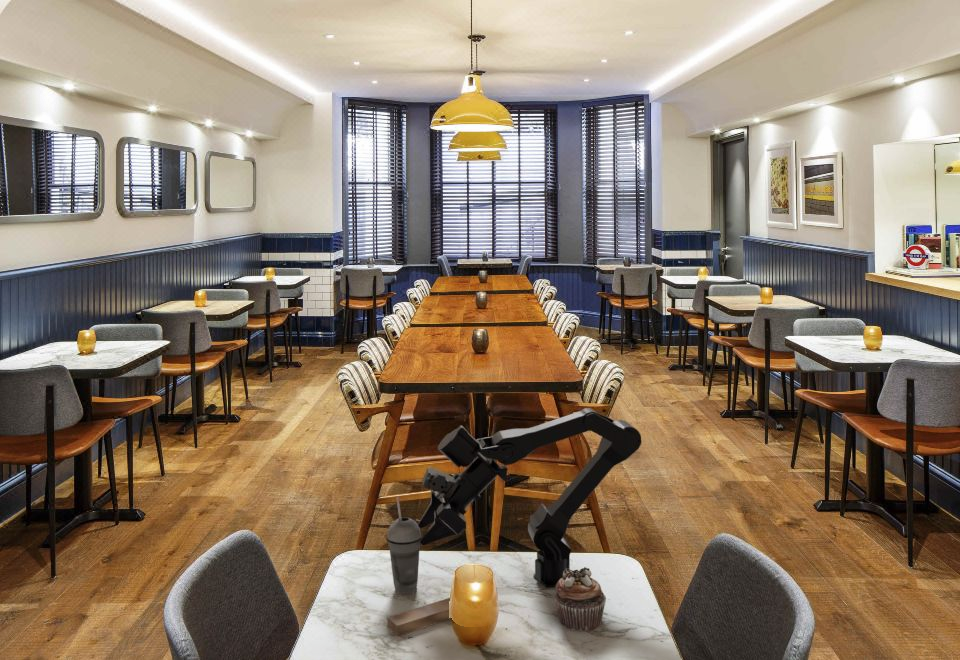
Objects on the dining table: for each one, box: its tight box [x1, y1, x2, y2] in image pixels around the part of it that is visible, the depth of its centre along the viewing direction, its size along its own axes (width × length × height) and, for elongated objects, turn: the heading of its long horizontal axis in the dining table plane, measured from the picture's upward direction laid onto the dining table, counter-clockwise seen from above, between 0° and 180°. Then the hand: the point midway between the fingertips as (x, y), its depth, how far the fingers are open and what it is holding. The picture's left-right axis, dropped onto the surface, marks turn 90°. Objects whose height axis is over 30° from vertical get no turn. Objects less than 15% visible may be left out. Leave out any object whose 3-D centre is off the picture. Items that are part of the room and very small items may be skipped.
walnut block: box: [386, 597, 451, 636], centre depth 161 cm, size 16×4×2 cm, turn 123°
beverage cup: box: [386, 496, 423, 596], centre depth 172 cm, size 7×7×20 cm
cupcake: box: [554, 566, 607, 632], centre depth 159 cm, size 10×10×10 cm
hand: (420, 535), depth 172 cm, fingers open, 9 cm apart
